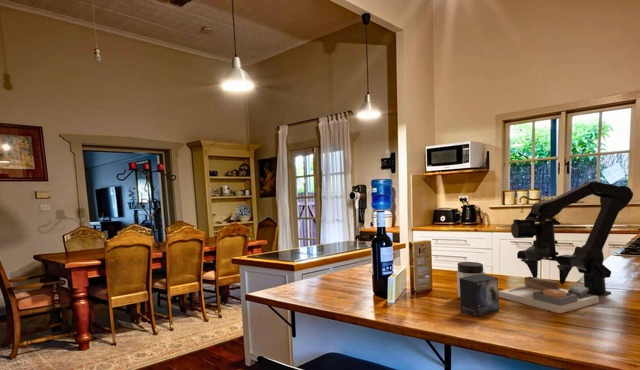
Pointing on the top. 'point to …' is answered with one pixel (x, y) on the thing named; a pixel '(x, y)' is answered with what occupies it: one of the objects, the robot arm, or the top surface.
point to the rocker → (578, 290)
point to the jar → (468, 271)
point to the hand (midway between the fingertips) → (548, 281)
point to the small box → (479, 294)
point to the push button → (554, 293)
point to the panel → (548, 299)
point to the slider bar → (541, 283)
